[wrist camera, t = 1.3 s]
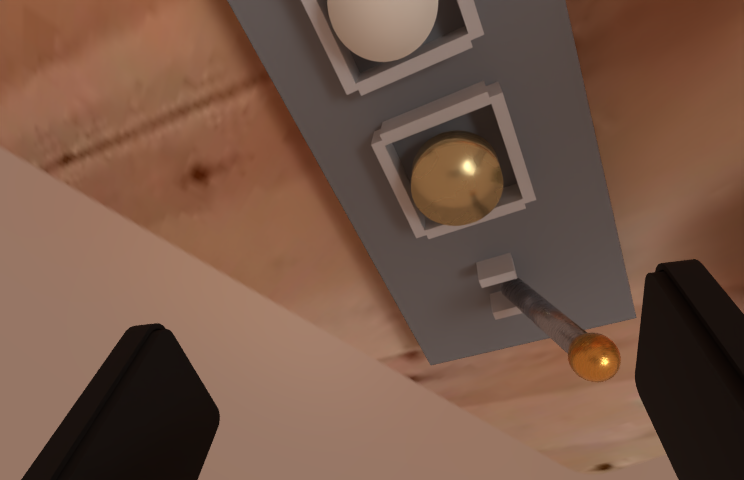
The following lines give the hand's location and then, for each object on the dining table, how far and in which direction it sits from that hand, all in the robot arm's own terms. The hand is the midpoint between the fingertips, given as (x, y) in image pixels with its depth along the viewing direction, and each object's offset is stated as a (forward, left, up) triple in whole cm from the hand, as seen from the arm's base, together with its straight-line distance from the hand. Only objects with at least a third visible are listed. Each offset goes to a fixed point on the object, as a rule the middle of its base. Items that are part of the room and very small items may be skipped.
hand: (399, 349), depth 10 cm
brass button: (0, +6, -19) cm, 20 cm away
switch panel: (0, +6, -24) cm, 25 cm away
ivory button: (0, -4, -19) cm, 19 cm away
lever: (0, +16, -21) cm, 26 cm away
